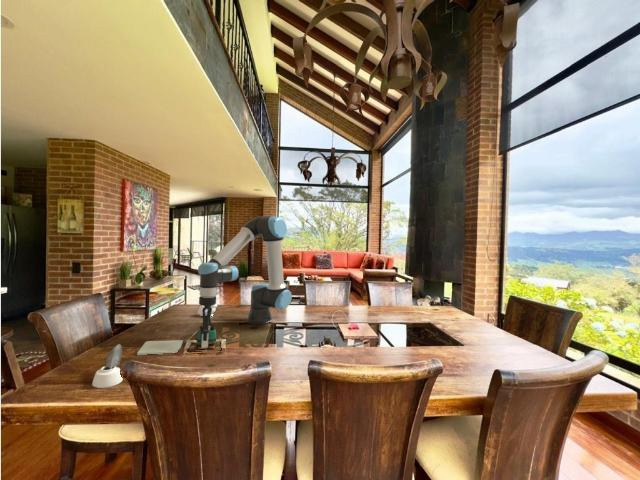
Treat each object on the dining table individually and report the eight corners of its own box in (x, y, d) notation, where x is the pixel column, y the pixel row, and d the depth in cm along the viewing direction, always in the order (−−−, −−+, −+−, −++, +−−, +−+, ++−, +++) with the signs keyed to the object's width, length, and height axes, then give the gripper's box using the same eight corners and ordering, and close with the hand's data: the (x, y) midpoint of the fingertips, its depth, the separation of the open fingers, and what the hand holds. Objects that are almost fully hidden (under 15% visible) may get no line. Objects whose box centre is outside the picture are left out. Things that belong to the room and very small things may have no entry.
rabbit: (218, 315, 210) (219, 297, 210) (210, 319, 201) (211, 300, 201) (200, 314, 213) (201, 295, 212) (192, 317, 203) (193, 298, 203)
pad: (182, 342, 159) (182, 340, 159) (177, 353, 145) (177, 351, 145) (146, 343, 155) (146, 341, 155) (137, 355, 141) (137, 352, 141)
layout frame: (225, 340, 165) (225, 339, 165) (224, 352, 149) (225, 351, 149) (187, 341, 161) (187, 340, 161) (182, 354, 144) (182, 353, 144)
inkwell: (87, 389, 110) (88, 359, 110) (104, 367, 127) (105, 341, 127) (119, 386, 113) (120, 357, 113) (131, 365, 130) (132, 340, 130)
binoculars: (214, 322, 162) (218, 325, 153) (213, 344, 161) (217, 349, 152) (194, 323, 158) (197, 327, 149) (194, 346, 157) (196, 351, 148)
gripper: (201, 291, 164) (199, 335, 165) (196, 301, 143) (194, 352, 143) (217, 291, 166) (215, 335, 167) (214, 301, 144) (212, 351, 145)
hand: (205, 343), depth 155 cm, fingers closed on binoculars, 10 cm apart
